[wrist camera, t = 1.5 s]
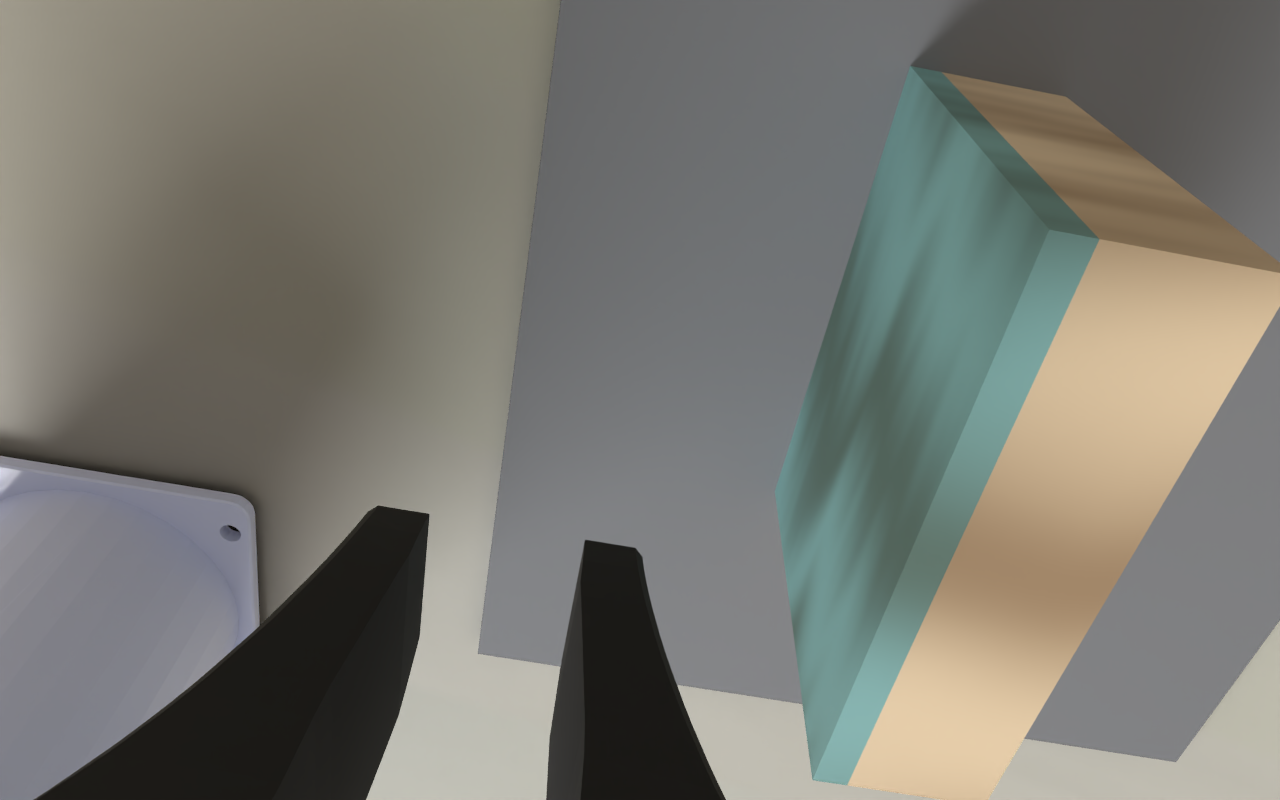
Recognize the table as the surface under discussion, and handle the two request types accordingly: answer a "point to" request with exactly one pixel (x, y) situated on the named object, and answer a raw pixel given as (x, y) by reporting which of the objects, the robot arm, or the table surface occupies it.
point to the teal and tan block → (994, 424)
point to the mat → (802, 305)
